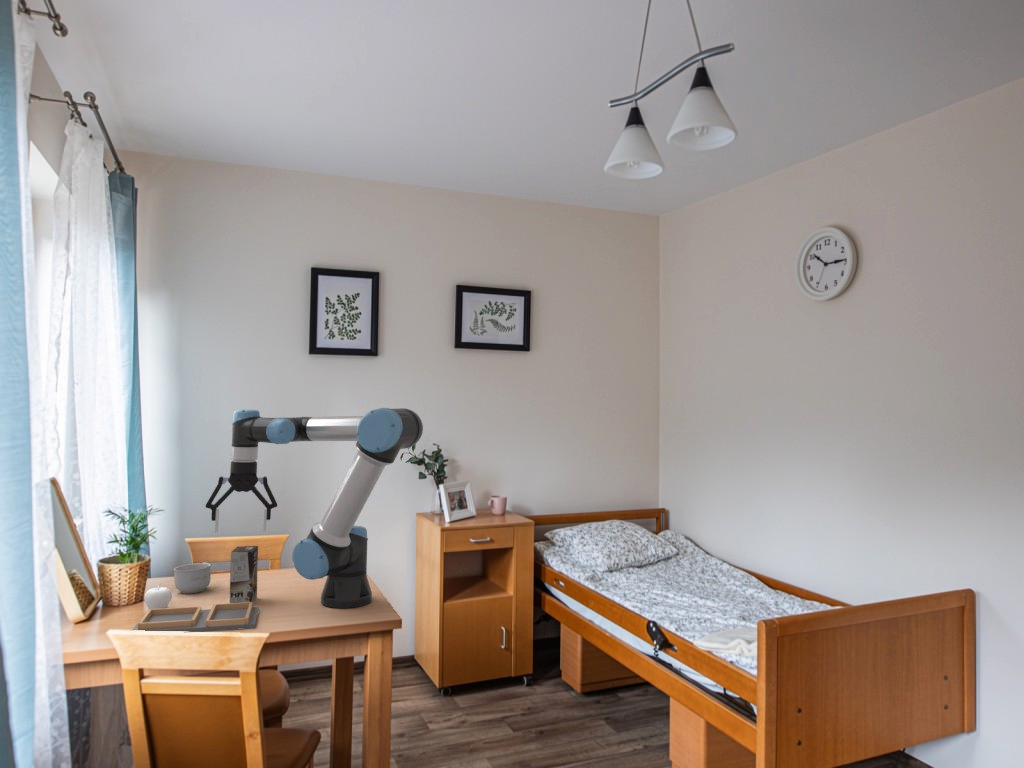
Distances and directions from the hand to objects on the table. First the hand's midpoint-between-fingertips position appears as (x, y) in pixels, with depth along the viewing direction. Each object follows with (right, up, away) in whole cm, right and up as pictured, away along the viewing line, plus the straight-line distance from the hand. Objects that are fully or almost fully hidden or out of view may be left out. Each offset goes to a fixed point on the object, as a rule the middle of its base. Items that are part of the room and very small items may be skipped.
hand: (240, 531), depth 220 cm
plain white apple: (-20, -21, -9) cm, 31 cm away
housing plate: (-4, -21, -20) cm, 29 cm away
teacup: (-19, -22, +13) cm, 31 cm away
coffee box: (+1, -22, 0) cm, 21 cm away
